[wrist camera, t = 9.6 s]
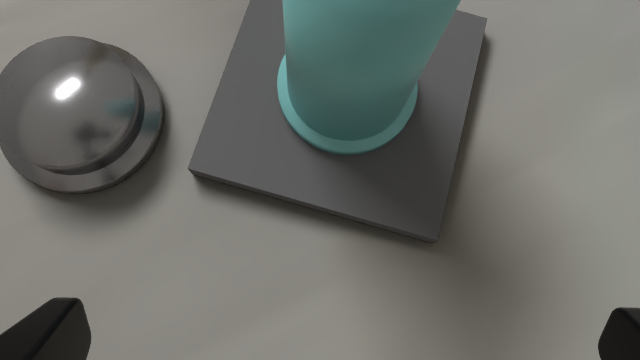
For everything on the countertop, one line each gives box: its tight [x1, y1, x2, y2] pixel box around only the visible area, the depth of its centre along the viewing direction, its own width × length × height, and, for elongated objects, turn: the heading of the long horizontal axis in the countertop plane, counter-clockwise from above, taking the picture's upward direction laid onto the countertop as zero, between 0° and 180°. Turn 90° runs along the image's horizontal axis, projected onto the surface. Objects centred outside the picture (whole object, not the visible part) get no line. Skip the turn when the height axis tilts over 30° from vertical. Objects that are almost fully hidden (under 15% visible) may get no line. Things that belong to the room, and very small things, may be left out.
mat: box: [188, 0, 487, 243], centre depth 20 cm, size 10×10×1 cm
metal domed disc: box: [0, 36, 164, 194], centre depth 19 cm, size 6×6×2 cm
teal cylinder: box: [277, 0, 461, 155], centre depth 15 cm, size 6×6×10 cm
